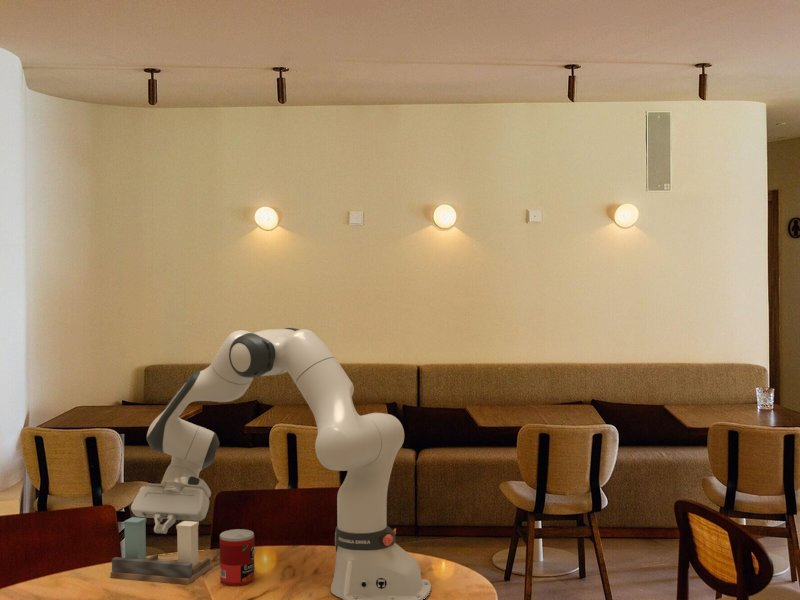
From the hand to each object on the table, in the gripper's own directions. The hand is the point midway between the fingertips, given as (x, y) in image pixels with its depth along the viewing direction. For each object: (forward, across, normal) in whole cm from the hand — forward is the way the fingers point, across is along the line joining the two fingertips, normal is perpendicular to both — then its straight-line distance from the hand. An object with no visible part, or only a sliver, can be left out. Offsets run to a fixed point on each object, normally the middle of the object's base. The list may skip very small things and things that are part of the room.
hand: (159, 532), depth 216 cm
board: (+12, +7, -4) cm, 15 cm away
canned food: (+13, +27, -4) cm, 30 cm away
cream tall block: (+11, +14, -5) cm, 19 cm away
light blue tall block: (+11, 0, -5) cm, 12 cm away
